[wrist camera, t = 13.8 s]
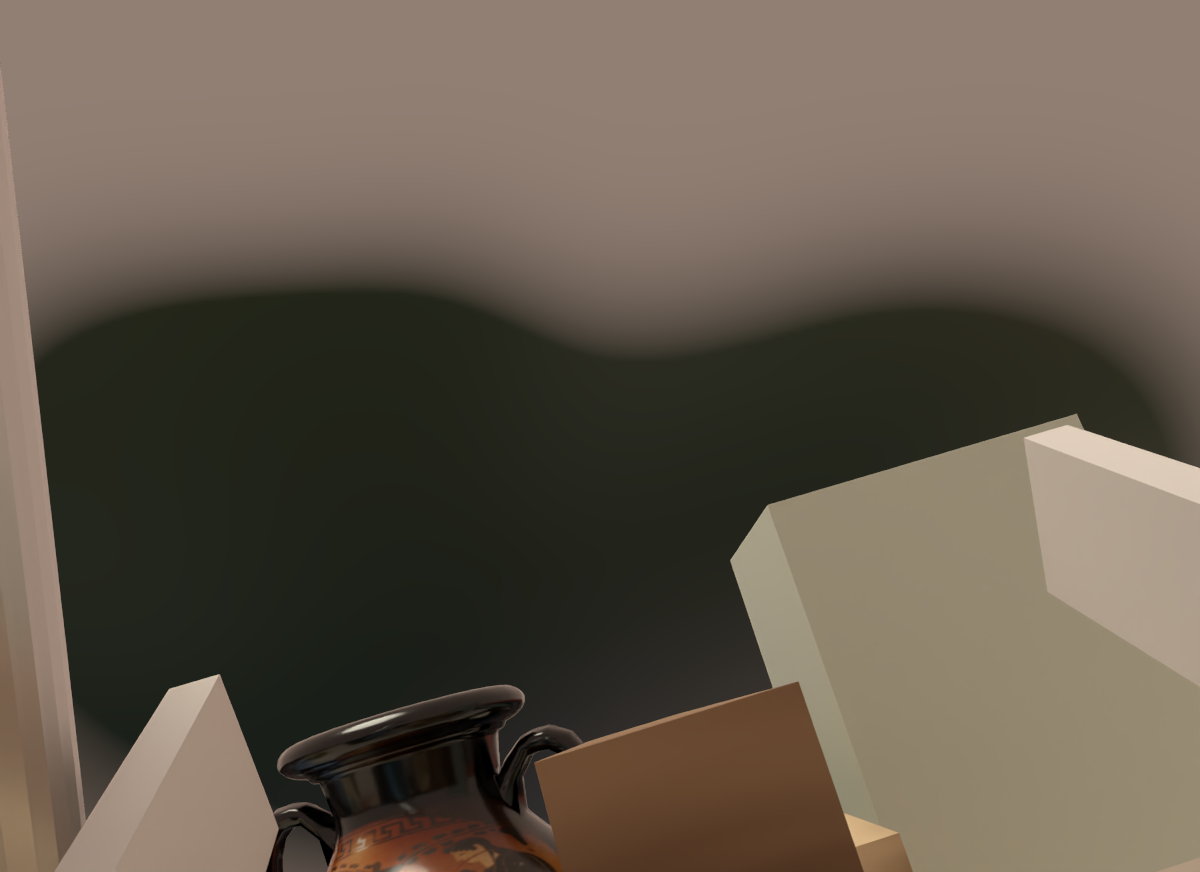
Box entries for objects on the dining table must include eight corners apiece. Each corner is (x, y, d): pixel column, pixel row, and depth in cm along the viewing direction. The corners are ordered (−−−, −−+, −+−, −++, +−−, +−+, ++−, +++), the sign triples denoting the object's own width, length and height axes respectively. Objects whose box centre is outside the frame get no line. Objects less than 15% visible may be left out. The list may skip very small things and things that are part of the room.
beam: (899, 974, 13) (798, 681, 14) (614, 1069, 13) (534, 762, 14) (703, 807, 42) (675, 714, 43) (614, 836, 42) (587, 741, 43)
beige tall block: (1128, 1530, 27) (767, 505, 35) (975, 1291, 38) (730, 560, 47) (1521, 1382, 28) (1076, 413, 36) (1255, 1190, 39) (965, 490, 48)
